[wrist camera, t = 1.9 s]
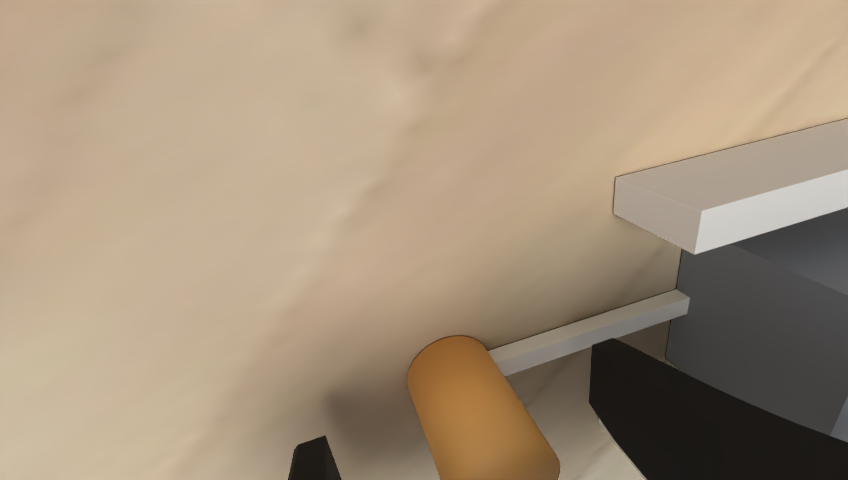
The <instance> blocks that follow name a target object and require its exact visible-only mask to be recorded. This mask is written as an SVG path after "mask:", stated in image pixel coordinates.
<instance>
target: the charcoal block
mask: <svg viewBox="0 0 848 480" xmlns="http://www.w3.org/2000/svg"><path fill="white" fill-rule="evenodd" d="M668 320H671V325H670V332H669V338H668V344H667V351H666V357H665V358H666V359H667V360H668V361H670V362H671V363H672V364H673V365H675V366H676V367H677V368H678V369H679V370H681V371H682V372H683V373H685V374H687V375H689V376H691V377H693V378H695V379H698V380H700V381H702V382H704V383H706V384H708V385H710V386H712V387H714V388H716V389H719V390H721V391H723V392H725V393H727V394H729V395H732V396H734V397H736V398H738V399H740V400H743V401H745V402H747V403H750V404H752V405H754V406H757V407H759V408H761V409H764V410H766V411H768V412H770V413H773V414H775V415H778V416H780V417H782V418H785V419H787V420H790V421H792V422H795V423H797V424H800V425H803V426H805V427H808V428H811V429H813V430H816V431H819V432H821V433H824V434H827V435H829V436H832V437H834V438H837V439H840V440H843V441H845V442H848V207H847V208H844V209H841V210H837V211H834V212H831V213H828V214H824V215H821V216H818V217H815V218H812V219H808V220H805V221H802V222H799V223H795V224H792V225H789V226H786V227H782V228H779V229H776V230H773V231H769V232H766V233H763V234H760V235H756V236H753V237H750V238H747V239H743V240H740V241H737V242H734V243H731V244H727V245H724V246H721V247H718V248H714V249H711V250H708V251H705V252H701V253H698V254H695V255H694V254H692V253H690V252H688V251H686V250H684V249H683V250H682V256H681V263H680V269H679V275H678V282H677V288H676V289H675V290H672V291H669V292H666V293H663V294H660V295H657V296H654V297H651V298H648V299H645V300H642V301H639V302H636V303H633V304H630V305H627V306H624V307H621V308H618V309H614V310H611V311H608V312H605V313H602V314H599V315H596V316H593V317H590V318H587V319H584V320H581V321H578V322H575V323H572V324H569V325H566V326H563V327H560V328H557V329H554V330H550V331H547V332H544V333H541V334H538V335H535V336H532V337H529V338H526V339H523V340H520V341H517V342H514V343H511V344H508V345H505V346H502V347H499V348H496V349H493V350H490V351H487V350H486V348H485V347H484V346H483V345H482V344H481V343H480V342H479V341H477V340H475V339H473V338H470V337H466V336H453V337H448V338H444V339H441V340H439V341H437V342H435V343H433V344H431V345H429V346H428V347H427V348H425V349H424V350H423V351H422V352H421V353H420V354H419V355H418V356H417V357H416V358H415V360H414V361H413V363H412V365H411V367H410V369H409V372H408V376H407V385H408V389H409V392H410V395H411V397H412V400H413V403H414V406H415V409H416V412H417V414H418V417H419V420H420V423H421V426H422V428H423V431H424V434H425V437H426V440H427V443H428V445H429V448H430V451H431V454H432V457H433V460H434V462H435V465H436V468H437V471H438V474H439V476H440V479H441V480H558V477H559V473H560V463H559V459H558V457H557V456H556V454H555V452H554V451H553V449H552V448H551V446H550V445H549V443H548V442H547V440H546V439H545V437H544V436H543V434H542V433H541V431H540V430H539V428H538V427H537V425H536V424H535V422H534V421H533V419H532V418H531V416H530V415H529V413H528V412H527V410H526V409H525V407H524V406H523V404H522V403H521V401H520V400H519V398H518V397H517V395H516V394H515V392H514V391H513V389H512V387H511V386H510V384H509V383H508V381H507V380H506V378H505V376H508V375H511V374H514V373H517V372H520V371H522V370H525V369H528V368H531V367H534V366H537V365H540V364H543V363H546V362H549V361H552V360H554V359H557V358H560V357H563V356H566V355H569V354H572V353H575V352H578V351H581V350H583V349H586V348H589V347H592V345H593V344H596V343H599V342H602V341H605V340H608V339H611V338H614V339H615V338H618V337H621V336H624V335H627V334H630V333H633V332H636V331H639V330H642V329H645V328H647V327H650V326H653V325H656V324H659V323H662V322H665V321H668Z"/></svg>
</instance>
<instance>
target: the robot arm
mask: <svg viewBox="0 0 848 480" xmlns="http://www.w3.org/2000/svg"><path fill="white" fill-rule="evenodd" d="M589 403H590V405H591V406H592V408H593V409H594V411H595V412H596V414H597V415H598V417H599V419H600V420H601V422H602V423H603V425H604V426H605V428H606V429H607V430H608V432H609V433H610V435H611V436H612V438H613V439H614V441H615V442H616V443H617V444H618V445H619V447H620V448H621V449H622V450H623V452H624V453H625V454H626V455H627V456H628V458H629V459H630V460H631V461H632V462H633V464H634V465H635V466H636V467H637V468H638V470H639V471H640V472H641V473H642V474H643V475H644V477H645V478H646V479H647V480H848V442H845V441H843V440H840V439H837V438H834V437H832V436H829V435H827V434H824V433H821V432H819V431H816V430H813V429H811V428H808V427H805V426H803V425H800V424H797V423H795V422H792V421H790V420H787V419H785V418H782V417H780V416H778V415H775V414H773V413H770V412H768V411H766V410H764V409H761V408H759V407H757V406H754V405H752V404H750V403H747V402H745V401H743V400H740V399H738V398H736V397H734V396H732V395H729V394H727V393H725V392H723V391H721V390H719V389H716V388H714V387H712V386H710V385H708V384H706V383H704V382H702V381H700V380H698V379H695V378H693V377H691V376H689V375H687V374H685V373H683V372H681V371H679V370H677V369H675V368H673V367H671V366H669V365H667V364H665V363H663V362H661V361H659V360H657V359H655V358H653V357H651V356H649V355H647V354H645V353H643V352H641V351H639V350H637V349H635V348H633V347H631V346H629V345H627V344H625V343H623V342H621V341H619V340H617V339H614V338H611V339H608V340H605V341H602V342H599V343H596V344H593V345H592V356H591V375H590V394H589ZM288 480H341V477H340V474H339V471H338V469H337V466H336V463H335V460H334V458H333V455H332V452H331V449H330V447H329V444H328V441H327V439H326V436H322V437H319V438H316V439H313V440H311V441H308V442H305V443H302V444H299V445H297V447H296V448H295V450H294V453H293V459H292V464H291V468H290V473H289V477H288Z"/></svg>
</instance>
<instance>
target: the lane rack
mask: <svg viewBox="0 0 848 480" xmlns="http://www.w3.org/2000/svg"><path fill="white" fill-rule="evenodd" d="M847 207H848V119H844V120H840V121H836V122H832V123H828V124H824V125H820V126H816V127H812V128H808V129H804V130H800V131H796V132H792V133H789V134H785V135H781V136H777V137H773V138H769V139H765V140H761V141H757V142H753V143H749V144H745V145H741V146H737V147H733V148H729V149H725V150H722V151H718V152H714V153H710V154H706V155H702V156H698V157H694V158H690V159H686V160H682V161H678V162H674V163H670V164H666V165H662V166H659V167H655V168H651V169H647V170H643V171H639V172H635V173H631V174H627V175H623V176H619V177H616V181H615V195H614V210H613V214H615V215H617V216H619V217H621V218H623V219H625V220H627V221H629V222H631V223H633V224H635V225H637V226H639V227H641V228H643V229H645V230H647V231H649V232H650V233H652V234H654V235H656V236H658V237H660V238H662V239H664V240H666V241H668V242H670V243H672V244H674V245H676V246H678V247H680V248H682V249H684V250H686V251H688V252H690V253H692V254H694V255H695V254H698V253H701V252H705V251H708V250H711V249H714V248H718V247H721V246H724V245H727V244H731V243H734V242H737V241H740V240H743V239H747V238H750V237H753V236H756V235H760V234H763V233H766V232H769V231H773V230H776V229H779V228H782V227H786V226H789V225H792V224H795V223H799V222H802V221H805V220H808V219H812V218H815V217H818V216H821V215H824V214H828V213H831V212H834V211H837V210H841V209H844V208H847ZM599 425H600V426H601V427H602V428H603V429H604V431H605V432H606V433H607V434H608V436H609V437H610V438H611V439H612V440H613V442H614V443H615V444H616V445H617V446H618V448H619V449H620V450H621V451H622V452H623V450H622V449H621V448H620V447H619V445H618V444H617V443H616V442H615V441H614V439H613V438H612V436H611V435H610V433H609V432H608V430H607V429H606V428H605V426H604V425H603V423H602V422H601V420H600V419H599ZM623 454H624V455H625V456H626V457H627V459H628V460H629V461H630V462H631V463H632V465H633V466H634V467H635V468H636V469H637V471H638V472H639V473H640V474H641V475H642V477H643V478H644V479H645V480H647V479H646V478H645V477H644V475H643V474H642V473H641V472H640V471H639V470H638V468H637V467H636V466H635V465H634V464H633V462H632V461H631V460H630V459H629V458H628V456H627V455H626V454H625V453H624V452H623Z"/></svg>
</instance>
